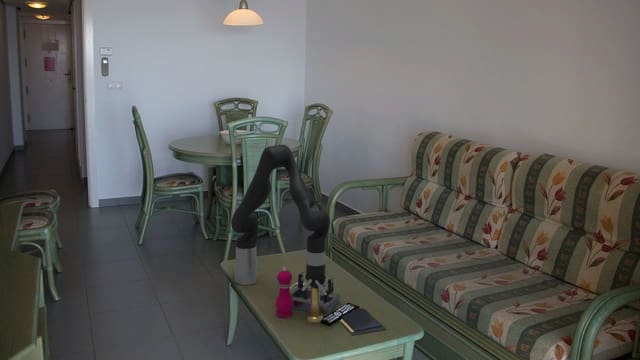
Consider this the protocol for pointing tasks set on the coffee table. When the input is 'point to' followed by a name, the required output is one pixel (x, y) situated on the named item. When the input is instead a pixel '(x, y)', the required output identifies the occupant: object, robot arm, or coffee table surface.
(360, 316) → the wallet
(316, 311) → the bolt
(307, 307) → the keyhole plate
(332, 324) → the coffee table surface
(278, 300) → the pepper mill
